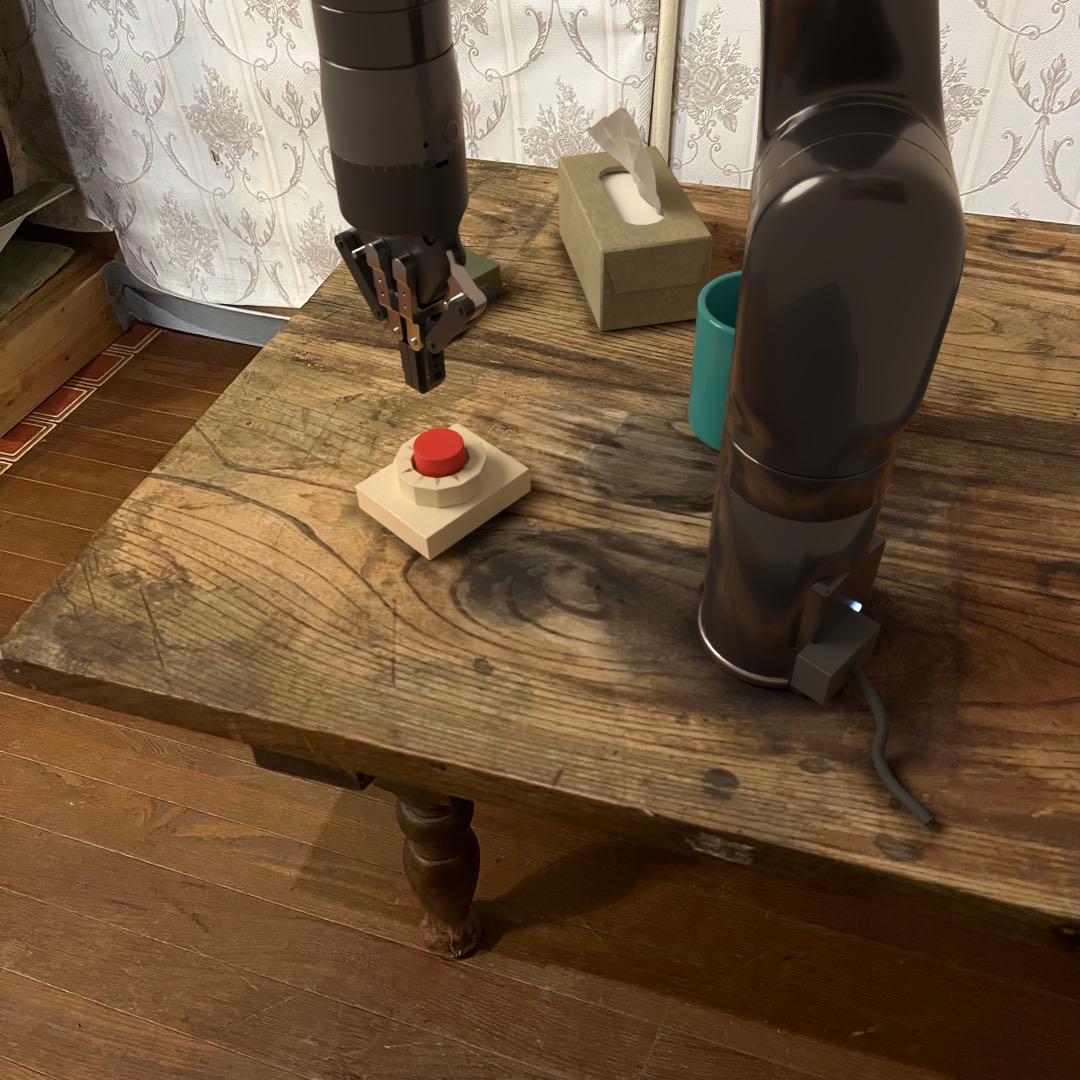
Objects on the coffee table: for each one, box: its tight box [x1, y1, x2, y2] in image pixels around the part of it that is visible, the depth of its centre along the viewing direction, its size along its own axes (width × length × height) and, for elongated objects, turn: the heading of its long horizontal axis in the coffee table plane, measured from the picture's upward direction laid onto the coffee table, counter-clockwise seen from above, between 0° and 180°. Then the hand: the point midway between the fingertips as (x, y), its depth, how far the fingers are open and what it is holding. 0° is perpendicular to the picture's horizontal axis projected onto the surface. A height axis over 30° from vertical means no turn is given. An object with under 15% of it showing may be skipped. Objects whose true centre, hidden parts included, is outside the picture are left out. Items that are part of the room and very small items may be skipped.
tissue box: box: [557, 106, 714, 332], centre depth 93 cm, size 19×10×16 cm, turn 11°
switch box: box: [354, 422, 532, 561], centre depth 76 cm, size 8×10×4 cm
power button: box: [413, 427, 466, 478], centre depth 74 cm, size 4×4×2 cm
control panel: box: [374, 243, 502, 297], centre depth 96 cm, size 10×8×3 cm
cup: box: [687, 270, 742, 453], centre depth 77 cm, size 9×12×11 cm
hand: (425, 384), depth 69 cm, fingers closed
